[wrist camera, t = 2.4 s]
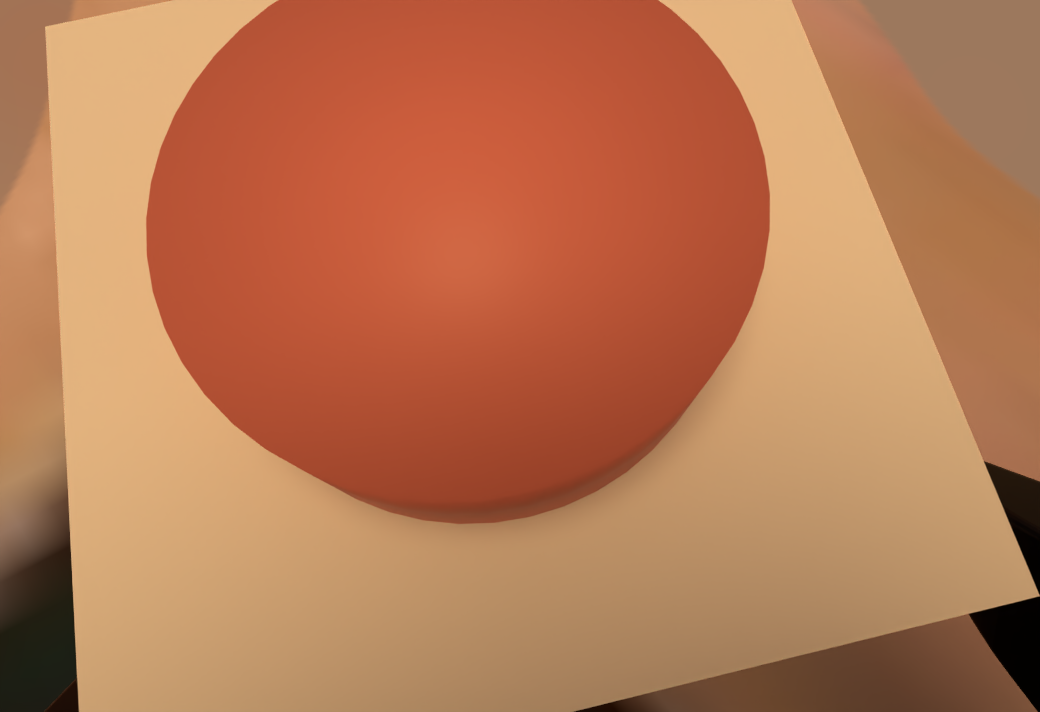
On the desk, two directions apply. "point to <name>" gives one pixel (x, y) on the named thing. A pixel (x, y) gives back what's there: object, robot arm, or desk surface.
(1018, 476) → the robot arm
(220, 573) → the tapered square pillar
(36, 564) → the desk surface
